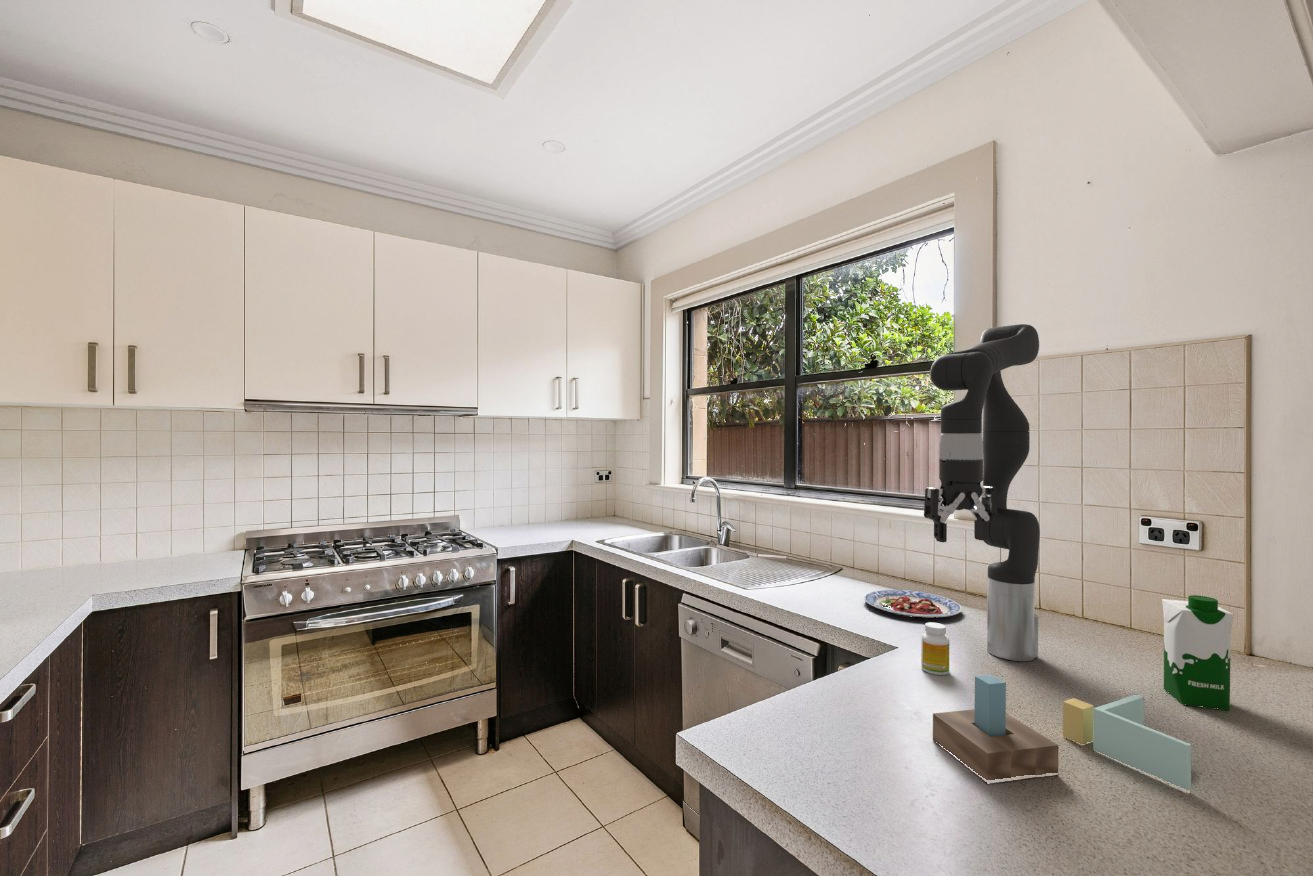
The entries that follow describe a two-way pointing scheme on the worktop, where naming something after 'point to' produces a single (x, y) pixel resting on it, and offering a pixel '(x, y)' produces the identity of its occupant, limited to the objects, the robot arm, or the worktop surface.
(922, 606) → the ceramic plate
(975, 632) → the worktop surface
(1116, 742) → the l-shaped corner panel
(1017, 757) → the hole block
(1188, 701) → the milk carton
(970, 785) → the worktop surface
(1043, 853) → the worktop surface
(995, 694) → the long peg
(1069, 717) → the short peg
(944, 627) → the supplement bottle
